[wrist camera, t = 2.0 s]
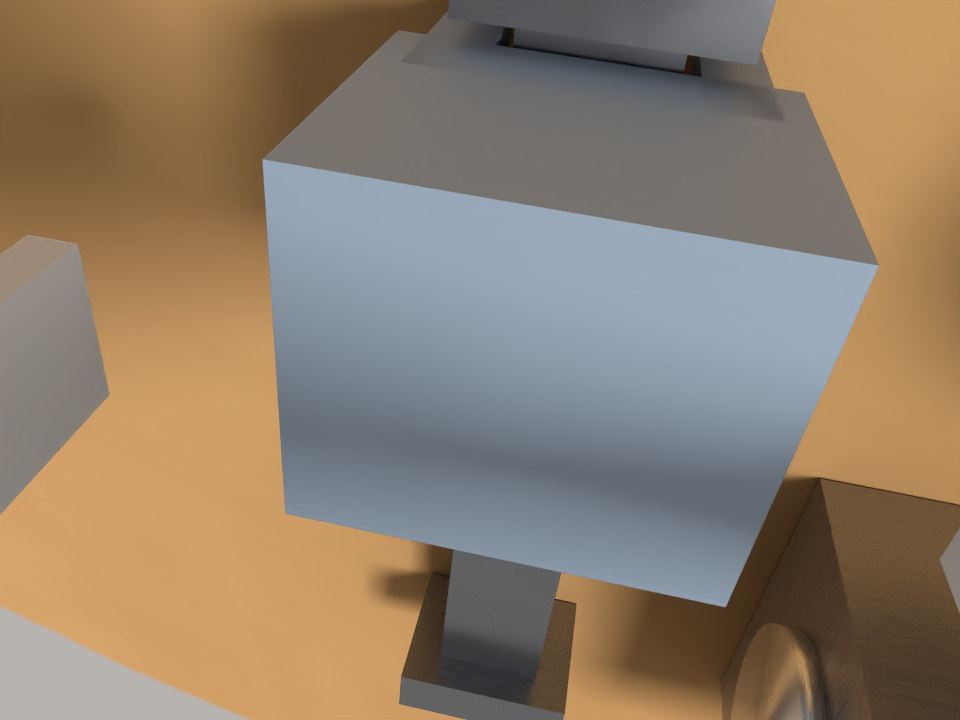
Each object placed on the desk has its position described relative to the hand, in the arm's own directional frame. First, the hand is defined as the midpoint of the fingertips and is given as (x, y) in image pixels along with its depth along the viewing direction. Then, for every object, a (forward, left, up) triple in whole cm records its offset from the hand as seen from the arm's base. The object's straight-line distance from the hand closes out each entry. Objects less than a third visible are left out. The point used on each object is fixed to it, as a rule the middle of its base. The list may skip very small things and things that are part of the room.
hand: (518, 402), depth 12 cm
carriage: (0, 0, -9) cm, 9 cm away
